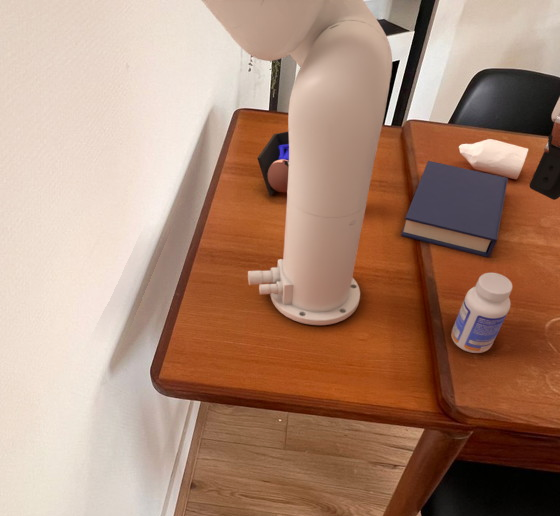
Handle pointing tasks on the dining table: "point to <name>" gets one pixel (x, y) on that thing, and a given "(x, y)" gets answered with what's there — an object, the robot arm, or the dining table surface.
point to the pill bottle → (482, 313)
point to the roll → (495, 157)
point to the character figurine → (275, 163)
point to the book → (457, 209)
